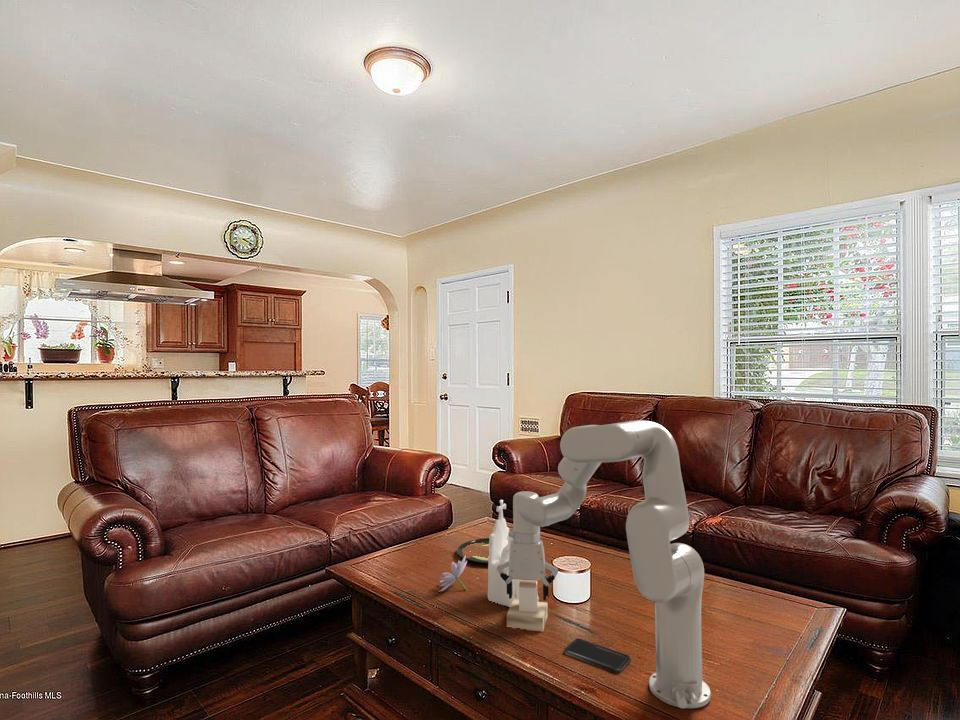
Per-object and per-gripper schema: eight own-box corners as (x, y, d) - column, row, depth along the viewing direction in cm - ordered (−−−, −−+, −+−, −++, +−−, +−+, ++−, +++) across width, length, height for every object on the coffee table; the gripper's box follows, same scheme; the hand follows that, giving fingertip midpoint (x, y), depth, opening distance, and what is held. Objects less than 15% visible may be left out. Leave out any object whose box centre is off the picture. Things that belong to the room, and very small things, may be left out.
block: (543, 633, 142) (542, 618, 142) (506, 629, 144) (506, 614, 144) (547, 616, 151) (547, 602, 151) (513, 612, 154) (513, 599, 154)
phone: (618, 671, 121) (562, 650, 131) (618, 676, 121) (562, 654, 131) (632, 656, 127) (577, 637, 137) (632, 661, 127) (577, 641, 137)
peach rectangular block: (537, 612, 145) (536, 586, 145) (519, 611, 146) (518, 585, 146) (537, 604, 150) (537, 579, 150) (520, 603, 151) (519, 578, 151)
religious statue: (522, 614, 152) (523, 511, 152) (484, 602, 160) (485, 503, 160) (551, 593, 166) (551, 499, 166) (514, 583, 174) (515, 492, 174)
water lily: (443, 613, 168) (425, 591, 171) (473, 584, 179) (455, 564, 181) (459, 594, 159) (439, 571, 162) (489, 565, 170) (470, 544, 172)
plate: (541, 550, 206) (541, 544, 206) (507, 574, 182) (507, 567, 183) (481, 539, 221) (481, 533, 221) (442, 560, 197) (442, 553, 197)
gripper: (494, 539, 146) (495, 601, 146) (557, 542, 143) (558, 605, 143) (498, 531, 153) (499, 590, 153) (557, 533, 151) (558, 593, 150)
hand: (527, 597), depth 148 cm, fingers open, 9 cm apart
